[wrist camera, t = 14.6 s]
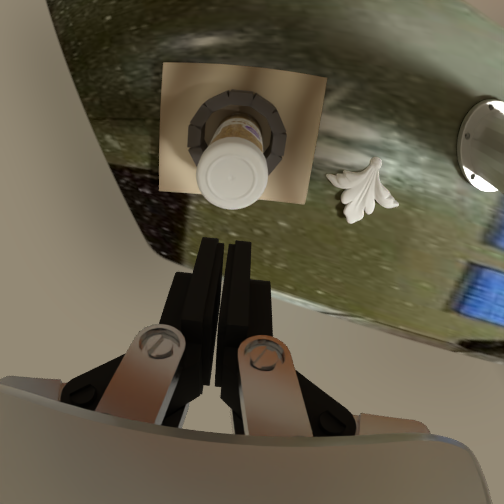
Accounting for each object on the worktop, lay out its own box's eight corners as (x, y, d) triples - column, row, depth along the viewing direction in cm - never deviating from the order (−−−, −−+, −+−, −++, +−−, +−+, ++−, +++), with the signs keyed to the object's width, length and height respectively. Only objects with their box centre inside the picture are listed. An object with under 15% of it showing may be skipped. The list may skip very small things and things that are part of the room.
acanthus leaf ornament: (395, 201, 37) (401, 207, 36) (347, 224, 39) (351, 231, 38) (376, 148, 34) (382, 153, 32) (324, 173, 35) (327, 179, 34)
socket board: (324, 77, 29) (334, 79, 25) (302, 198, 37) (308, 216, 33) (167, 62, 28) (154, 62, 24) (162, 185, 36) (151, 202, 32)
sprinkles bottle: (269, 124, 31) (282, 164, 19) (248, 162, 33) (247, 222, 21) (228, 103, 29) (214, 130, 18) (208, 142, 32) (183, 193, 20)
